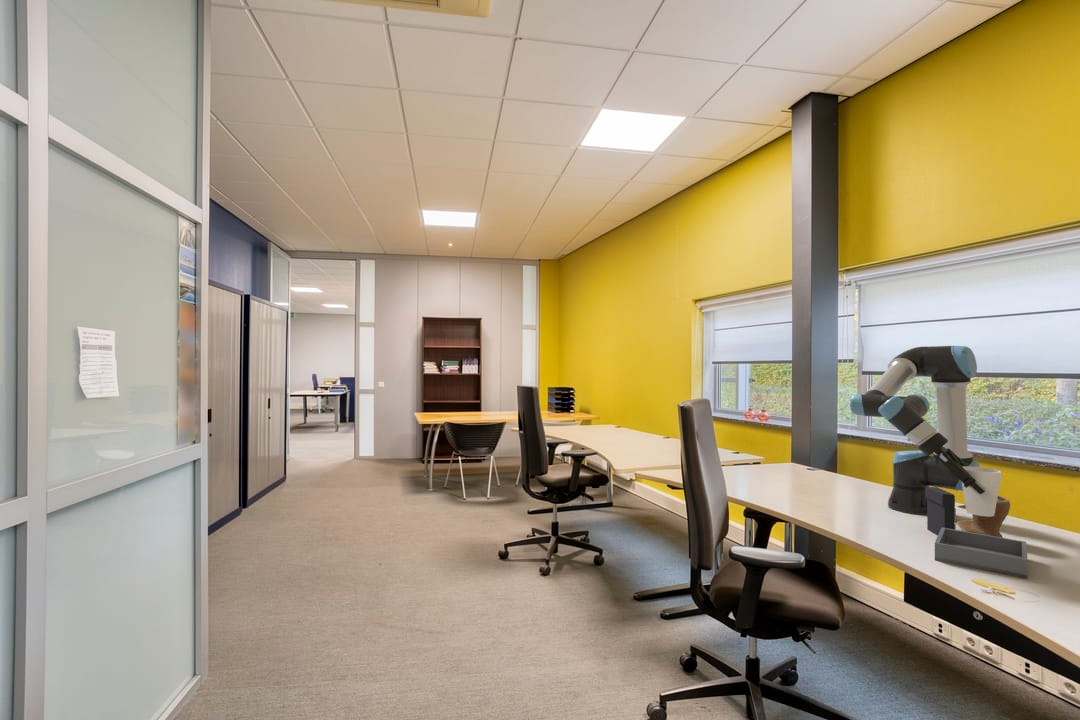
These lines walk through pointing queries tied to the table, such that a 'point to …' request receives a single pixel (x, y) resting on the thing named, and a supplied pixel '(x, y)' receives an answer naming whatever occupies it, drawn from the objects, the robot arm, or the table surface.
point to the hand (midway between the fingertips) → (994, 498)
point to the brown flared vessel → (988, 520)
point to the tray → (982, 552)
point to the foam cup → (990, 482)
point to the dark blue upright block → (940, 509)
